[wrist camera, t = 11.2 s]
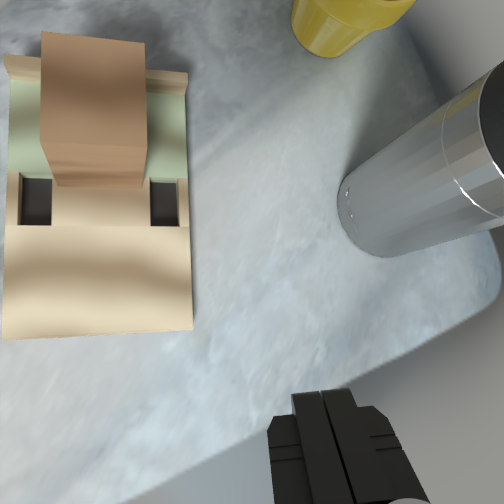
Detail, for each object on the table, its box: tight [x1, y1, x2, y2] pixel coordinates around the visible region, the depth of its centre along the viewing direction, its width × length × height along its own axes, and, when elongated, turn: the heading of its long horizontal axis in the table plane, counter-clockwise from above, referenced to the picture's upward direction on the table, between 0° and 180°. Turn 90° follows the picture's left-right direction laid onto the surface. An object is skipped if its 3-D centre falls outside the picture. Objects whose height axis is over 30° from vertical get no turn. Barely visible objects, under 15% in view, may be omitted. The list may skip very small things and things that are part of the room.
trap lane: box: [1, 54, 193, 341], centre depth 34 cm, size 20×13×4 cm, turn 4°
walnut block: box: [40, 31, 147, 189], centre depth 31 cm, size 7×6×8 cm
